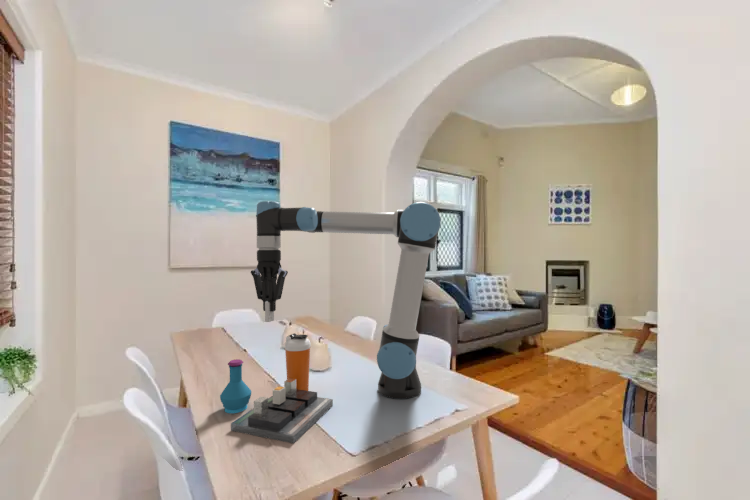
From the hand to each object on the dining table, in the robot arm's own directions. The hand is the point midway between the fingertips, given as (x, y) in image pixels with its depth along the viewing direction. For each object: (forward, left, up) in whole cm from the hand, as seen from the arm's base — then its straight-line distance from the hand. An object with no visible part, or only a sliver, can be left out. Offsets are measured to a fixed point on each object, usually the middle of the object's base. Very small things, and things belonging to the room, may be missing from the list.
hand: (269, 321), depth 118 cm
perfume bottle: (+7, +8, -27) cm, 29 cm away
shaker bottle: (-5, -9, -27) cm, 29 cm away
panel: (-11, +8, -26) cm, 30 cm away
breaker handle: (-9, +8, -22) cm, 25 cm away
